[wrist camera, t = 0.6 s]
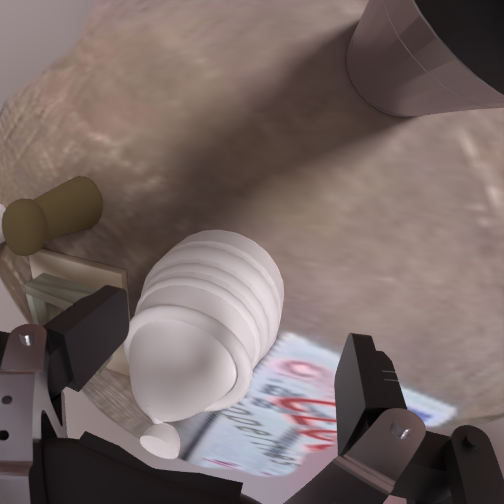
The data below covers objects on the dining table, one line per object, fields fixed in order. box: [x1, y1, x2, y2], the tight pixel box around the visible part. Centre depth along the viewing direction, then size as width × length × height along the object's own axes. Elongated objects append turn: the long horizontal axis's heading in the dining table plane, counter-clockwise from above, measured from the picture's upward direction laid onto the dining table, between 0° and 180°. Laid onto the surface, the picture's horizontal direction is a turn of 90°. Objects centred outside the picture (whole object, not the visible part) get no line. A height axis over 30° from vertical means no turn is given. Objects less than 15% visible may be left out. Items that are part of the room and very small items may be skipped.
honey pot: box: [123, 230, 284, 459], centre depth 24 cm, size 13×13×18 cm
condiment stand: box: [24, 248, 130, 377], centre depth 35 cm, size 16×16×5 cm
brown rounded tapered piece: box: [2, 176, 102, 256], centre depth 26 cm, size 6×6×11 cm
